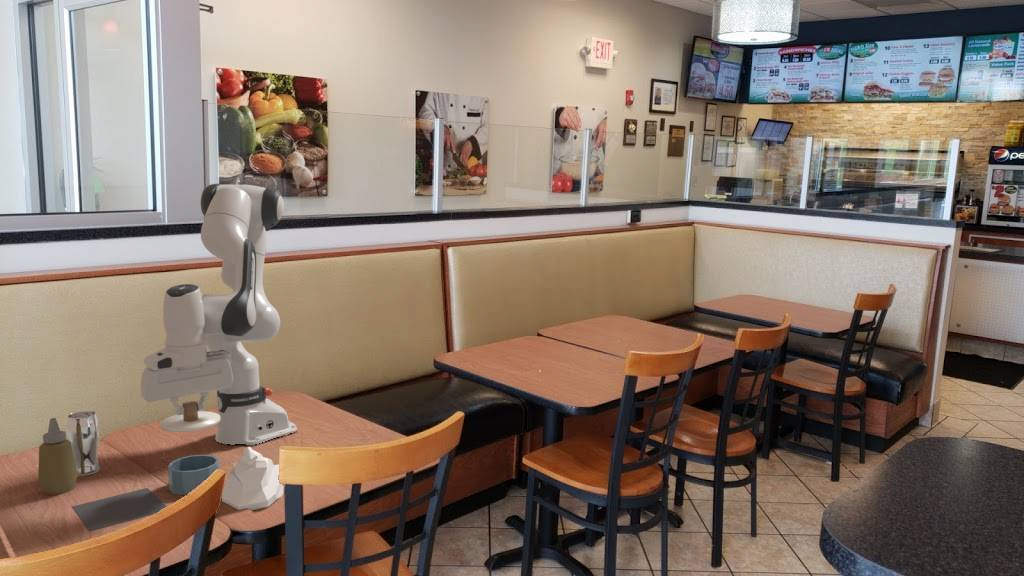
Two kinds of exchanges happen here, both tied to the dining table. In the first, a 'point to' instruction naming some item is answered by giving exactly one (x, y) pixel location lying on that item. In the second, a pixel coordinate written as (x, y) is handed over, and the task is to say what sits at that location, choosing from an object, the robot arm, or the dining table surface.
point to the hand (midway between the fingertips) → (190, 412)
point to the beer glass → (84, 441)
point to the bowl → (190, 472)
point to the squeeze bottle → (56, 461)
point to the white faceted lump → (252, 482)
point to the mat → (118, 509)
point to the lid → (190, 419)
